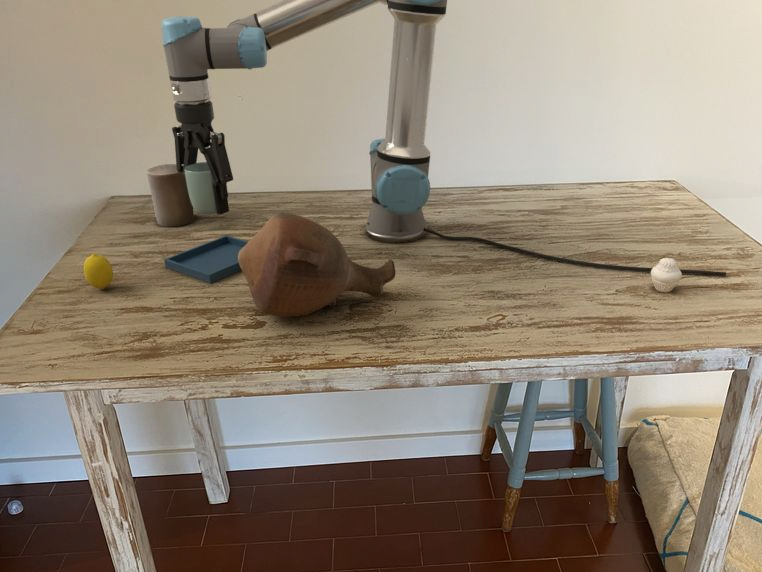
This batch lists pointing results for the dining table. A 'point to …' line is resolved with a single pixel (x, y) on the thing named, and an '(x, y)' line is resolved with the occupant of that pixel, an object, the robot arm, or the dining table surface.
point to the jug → (303, 268)
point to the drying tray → (209, 259)
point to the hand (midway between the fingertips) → (210, 208)
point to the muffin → (666, 275)
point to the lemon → (98, 271)
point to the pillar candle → (170, 196)
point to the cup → (201, 188)
